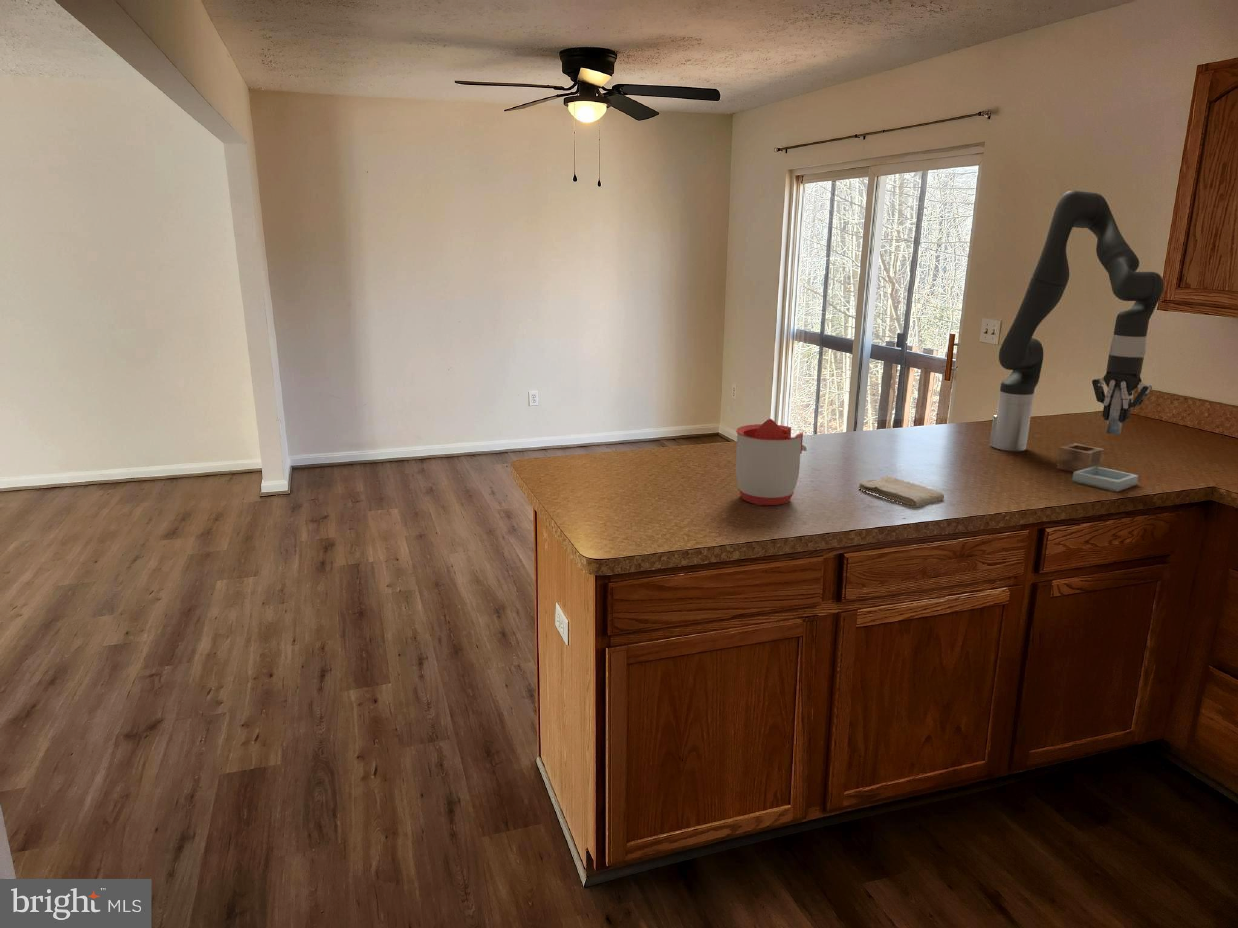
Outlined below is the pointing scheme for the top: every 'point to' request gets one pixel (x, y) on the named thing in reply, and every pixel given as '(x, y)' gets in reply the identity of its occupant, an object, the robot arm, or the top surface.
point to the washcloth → (902, 491)
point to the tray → (1105, 478)
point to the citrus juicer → (767, 462)
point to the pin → (1115, 412)
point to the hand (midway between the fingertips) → (1115, 420)
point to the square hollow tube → (1079, 457)
